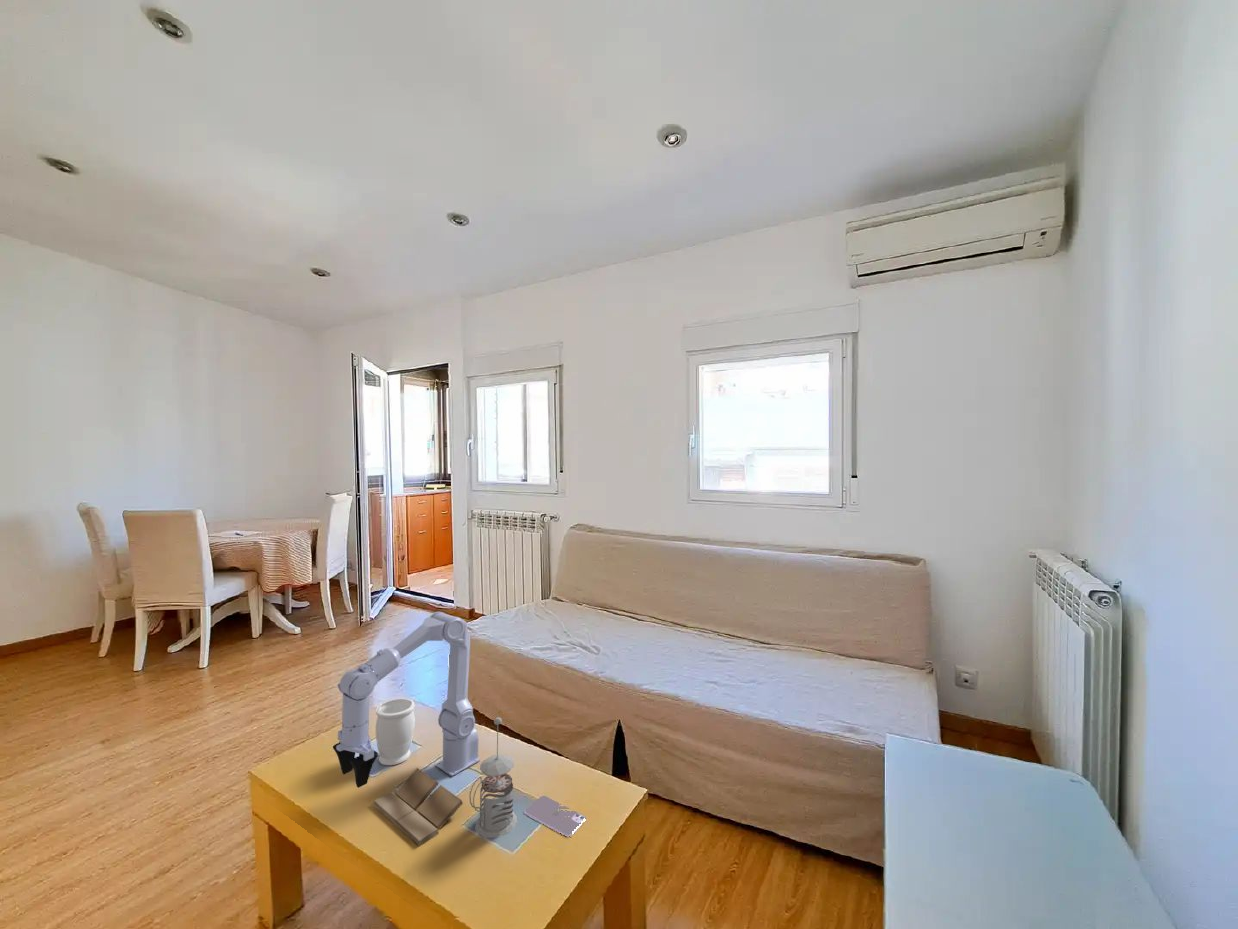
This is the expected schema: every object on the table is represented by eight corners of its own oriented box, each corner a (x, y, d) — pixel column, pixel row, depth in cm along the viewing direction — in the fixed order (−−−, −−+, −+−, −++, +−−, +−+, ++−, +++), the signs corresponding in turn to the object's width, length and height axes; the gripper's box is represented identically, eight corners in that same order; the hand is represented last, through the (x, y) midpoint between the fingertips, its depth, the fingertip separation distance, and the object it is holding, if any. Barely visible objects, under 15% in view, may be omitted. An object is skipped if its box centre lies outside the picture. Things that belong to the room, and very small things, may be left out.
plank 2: (441, 788, 123) (440, 785, 123) (462, 803, 118) (461, 800, 117) (418, 813, 118) (416, 809, 117) (438, 830, 112) (437, 826, 112)
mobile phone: (543, 793, 125) (589, 816, 116) (543, 797, 125) (589, 820, 116) (522, 810, 118) (569, 836, 110) (522, 814, 118) (569, 840, 110)
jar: (421, 754, 142) (422, 703, 142) (388, 773, 133) (389, 719, 133) (400, 743, 147) (401, 694, 148) (367, 760, 139) (368, 708, 139)
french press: (525, 822, 115) (526, 718, 115) (481, 849, 107) (483, 736, 107) (503, 802, 122) (504, 703, 122) (460, 826, 114) (462, 720, 114)
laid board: (392, 795, 124) (392, 790, 124) (438, 833, 111) (438, 828, 111) (374, 805, 120) (374, 800, 120) (419, 846, 107) (419, 840, 107)
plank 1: (419, 770, 129) (417, 767, 128) (438, 784, 123) (436, 781, 123) (397, 795, 124) (394, 793, 123) (415, 811, 118) (413, 808, 118)
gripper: (324, 718, 116) (323, 774, 116) (351, 739, 108) (350, 800, 107) (355, 707, 122) (354, 761, 122) (383, 726, 113) (382, 784, 113)
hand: (354, 778), depth 115 cm, fingers open, 7 cm apart
